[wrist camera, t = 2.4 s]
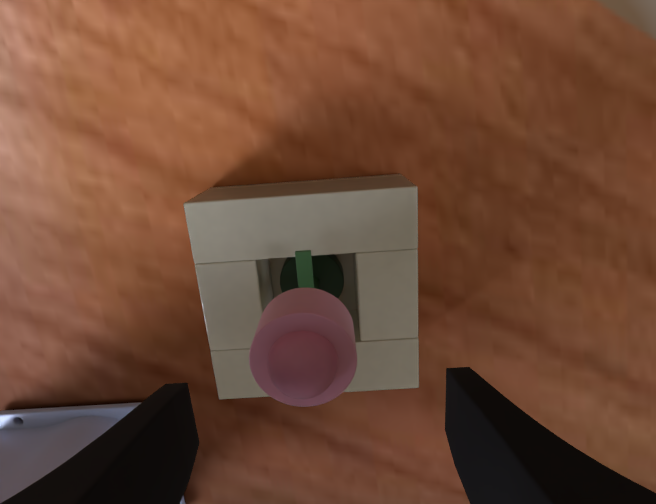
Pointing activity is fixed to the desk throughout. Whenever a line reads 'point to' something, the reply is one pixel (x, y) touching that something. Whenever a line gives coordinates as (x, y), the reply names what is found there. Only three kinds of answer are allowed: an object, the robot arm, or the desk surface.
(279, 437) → the desk surface
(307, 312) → the flower
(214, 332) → the beige square socket block
